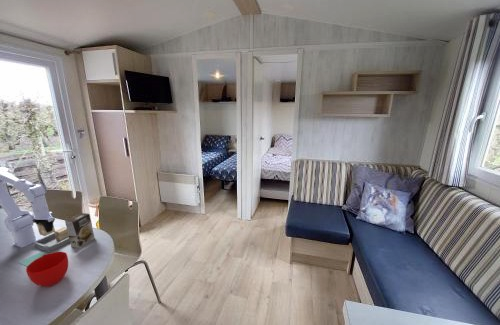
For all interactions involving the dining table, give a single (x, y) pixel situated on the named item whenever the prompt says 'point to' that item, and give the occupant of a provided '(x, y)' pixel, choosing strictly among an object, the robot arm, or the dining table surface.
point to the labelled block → (43, 231)
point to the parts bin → (50, 243)
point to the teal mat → (32, 258)
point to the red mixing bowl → (48, 269)
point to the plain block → (61, 234)
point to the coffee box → (79, 230)
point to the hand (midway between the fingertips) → (46, 230)
